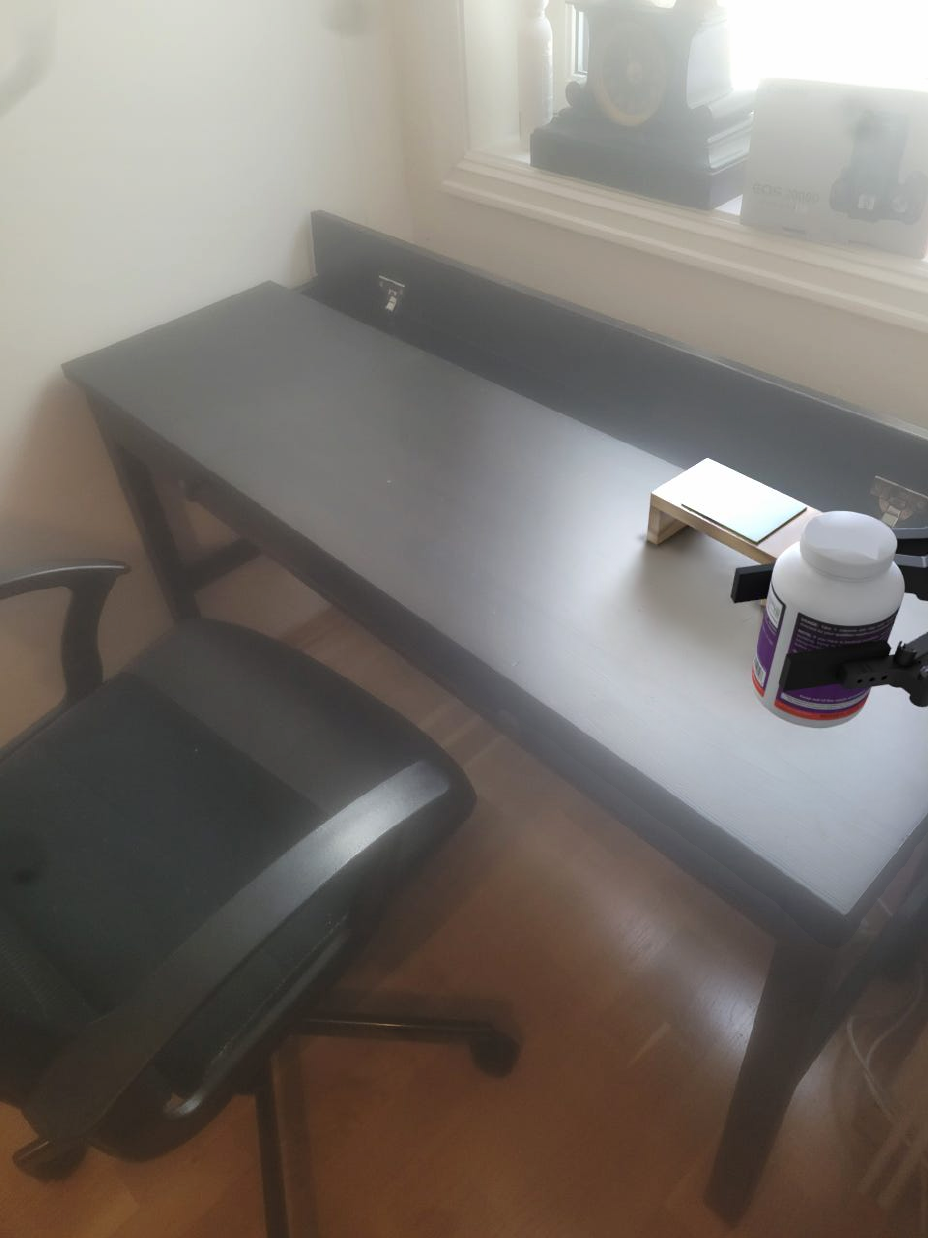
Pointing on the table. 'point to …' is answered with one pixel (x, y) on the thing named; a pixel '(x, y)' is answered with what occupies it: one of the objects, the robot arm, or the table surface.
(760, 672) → the pill bottle
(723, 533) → the shelf
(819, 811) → the table surface
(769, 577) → the robot arm
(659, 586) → the table surface
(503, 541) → the table surface
